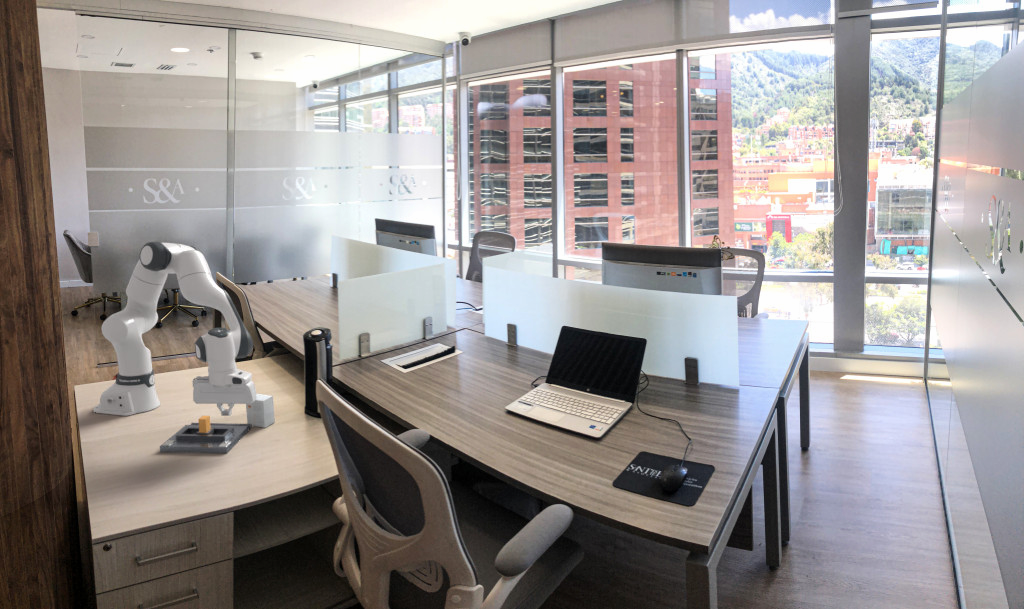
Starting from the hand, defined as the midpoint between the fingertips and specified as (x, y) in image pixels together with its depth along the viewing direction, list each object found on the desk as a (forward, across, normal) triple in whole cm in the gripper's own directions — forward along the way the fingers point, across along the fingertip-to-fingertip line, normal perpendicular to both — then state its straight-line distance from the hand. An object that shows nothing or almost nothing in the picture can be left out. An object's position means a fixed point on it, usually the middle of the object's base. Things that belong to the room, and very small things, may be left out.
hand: (226, 415), depth 222 cm
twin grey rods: (+10, -8, +11) cm, 17 cm away
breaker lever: (+8, -8, 0) cm, 11 cm away
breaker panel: (+10, -8, 0) cm, 12 cm away
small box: (+10, +5, +16) cm, 19 cm away
